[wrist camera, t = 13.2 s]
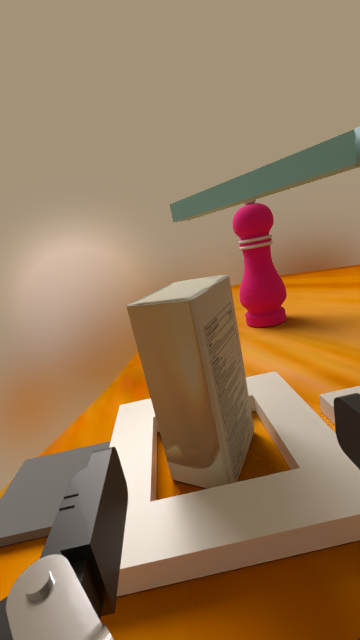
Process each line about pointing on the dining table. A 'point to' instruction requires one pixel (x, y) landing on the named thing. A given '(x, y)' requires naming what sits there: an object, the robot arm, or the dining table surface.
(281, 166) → the swing bar
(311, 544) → the holder
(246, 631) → the dining table surface
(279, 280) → the pepper mill
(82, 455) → the coaster
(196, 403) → the skincare box
